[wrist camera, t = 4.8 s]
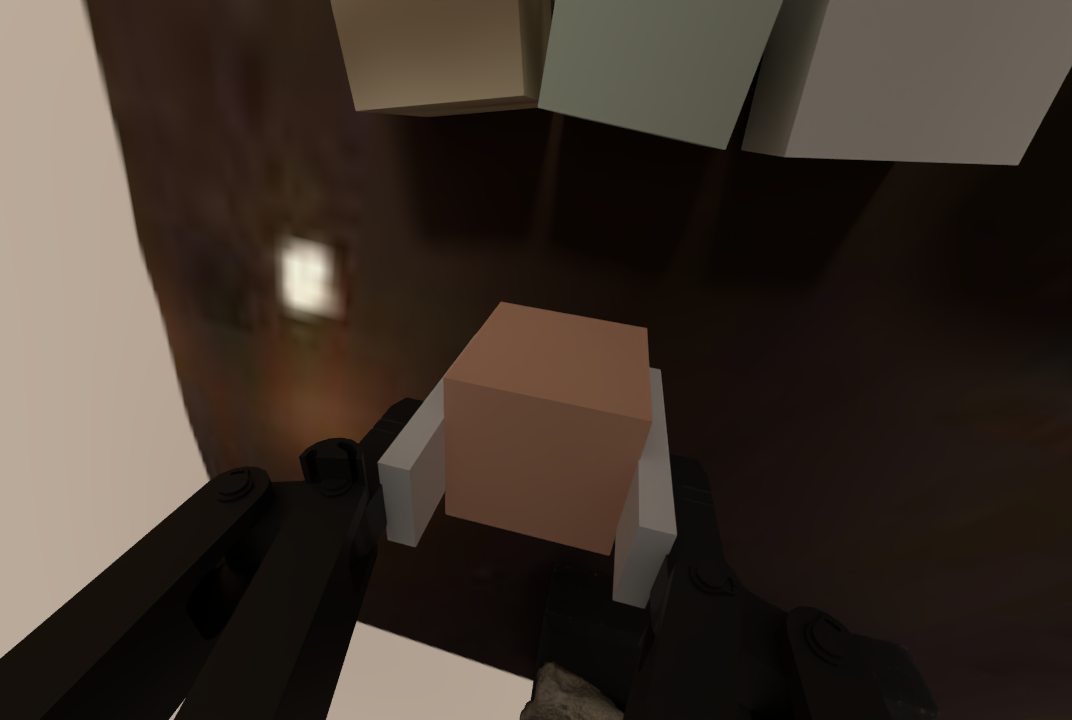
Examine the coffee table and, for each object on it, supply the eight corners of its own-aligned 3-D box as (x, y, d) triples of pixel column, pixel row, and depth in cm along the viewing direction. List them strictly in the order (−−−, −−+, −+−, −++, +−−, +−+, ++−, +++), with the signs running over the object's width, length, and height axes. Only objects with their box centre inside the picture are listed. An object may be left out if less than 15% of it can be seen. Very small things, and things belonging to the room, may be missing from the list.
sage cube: (601, -71, 13) (584, -176, 8) (764, -41, 12) (834, -134, 8) (564, 114, 15) (537, 107, 11) (698, 145, 15) (725, 150, 10)
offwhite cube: (785, -40, 12) (867, -133, 8) (980, -47, 11) (1192, -157, 7) (740, 149, 15) (784, 157, 10) (898, 155, 14) (1017, 165, 9)
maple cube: (402, -56, 14) (297, -142, 10) (548, -82, 13) (505, -191, 8) (429, 117, 16) (355, 111, 12) (554, 106, 15) (523, 95, 11)
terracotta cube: (500, 301, 14) (443, 377, 10) (647, 328, 14) (652, 421, 9) (493, 415, 17) (445, 514, 12) (616, 442, 16) (609, 555, 12)
